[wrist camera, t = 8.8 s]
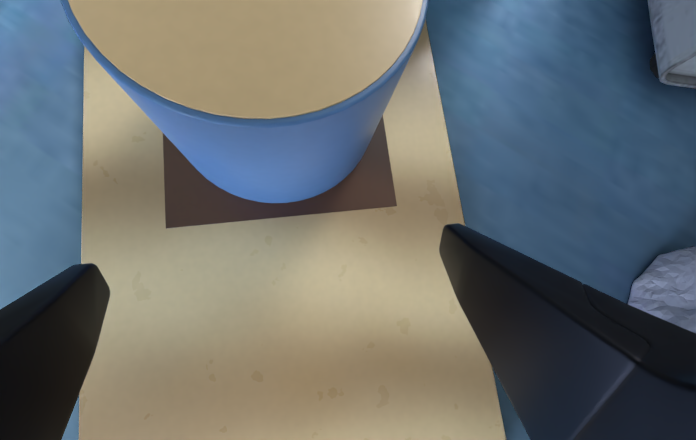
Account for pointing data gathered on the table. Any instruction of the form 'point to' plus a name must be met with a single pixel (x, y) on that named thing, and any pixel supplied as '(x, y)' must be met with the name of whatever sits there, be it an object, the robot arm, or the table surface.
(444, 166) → the birch board
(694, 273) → the stone block
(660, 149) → the table surface
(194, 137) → the blue cylinder
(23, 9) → the table surface
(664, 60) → the vintage electronic device
